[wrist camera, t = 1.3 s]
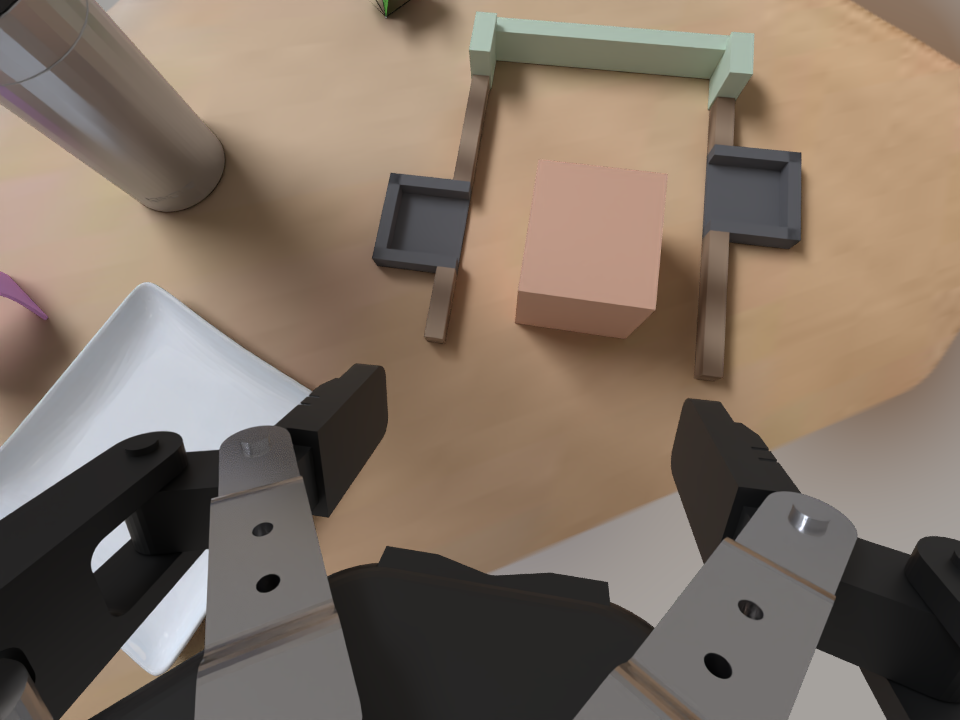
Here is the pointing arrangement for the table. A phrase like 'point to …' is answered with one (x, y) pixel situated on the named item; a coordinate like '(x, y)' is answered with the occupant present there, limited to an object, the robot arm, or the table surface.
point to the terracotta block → (592, 249)
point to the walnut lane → (712, 255)
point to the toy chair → (18, 295)
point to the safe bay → (614, 50)
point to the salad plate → (146, 427)
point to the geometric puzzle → (385, 3)
